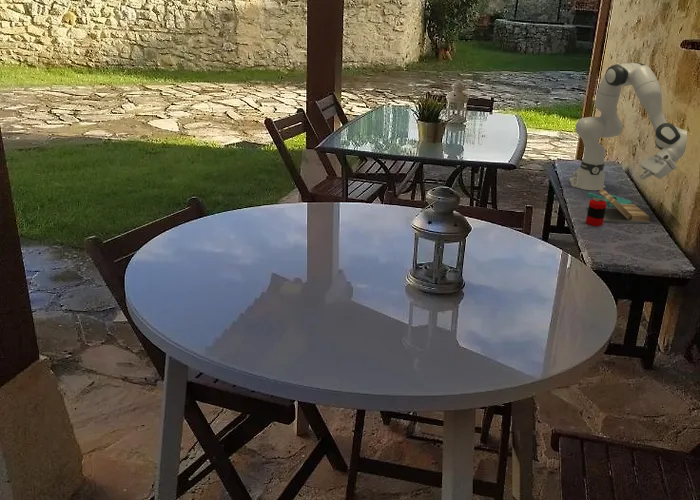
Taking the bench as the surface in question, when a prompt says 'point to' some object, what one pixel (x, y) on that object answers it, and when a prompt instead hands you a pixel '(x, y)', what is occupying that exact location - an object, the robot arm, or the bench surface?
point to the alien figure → (620, 200)
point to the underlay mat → (618, 217)
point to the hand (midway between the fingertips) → (641, 178)
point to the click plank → (615, 203)
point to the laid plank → (636, 213)
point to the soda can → (596, 212)
